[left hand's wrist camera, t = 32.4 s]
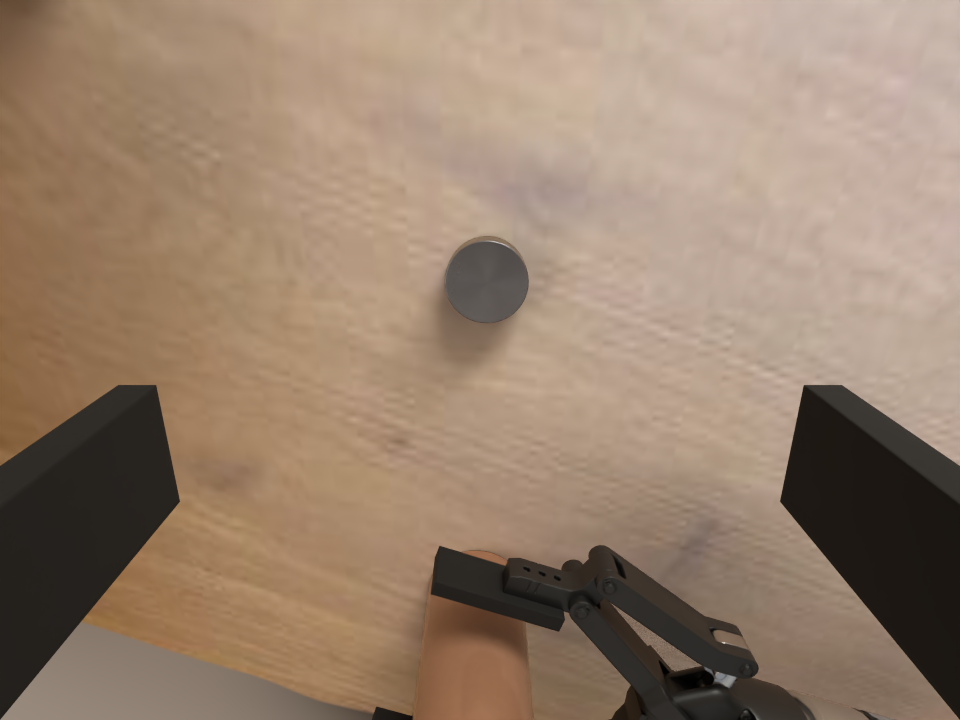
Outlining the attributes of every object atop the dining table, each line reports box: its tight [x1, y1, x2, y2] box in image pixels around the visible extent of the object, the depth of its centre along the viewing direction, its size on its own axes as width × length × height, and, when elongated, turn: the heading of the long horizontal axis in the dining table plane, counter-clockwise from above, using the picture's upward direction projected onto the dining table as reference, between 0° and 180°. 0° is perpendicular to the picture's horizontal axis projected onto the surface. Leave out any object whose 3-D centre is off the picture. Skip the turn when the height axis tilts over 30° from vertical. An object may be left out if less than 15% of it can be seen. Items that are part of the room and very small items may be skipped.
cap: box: [445, 236, 529, 323], centre depth 30 cm, size 4×4×2 cm
